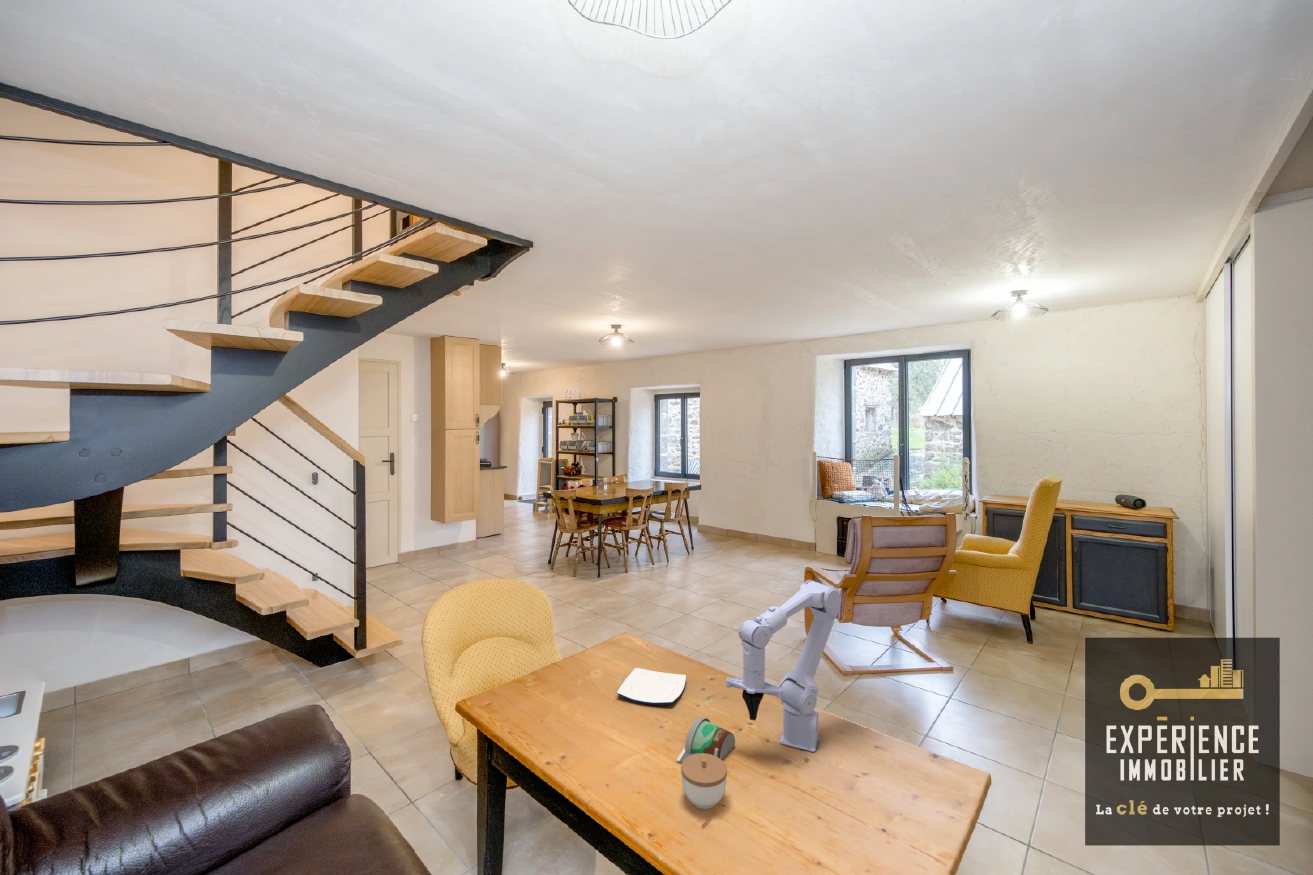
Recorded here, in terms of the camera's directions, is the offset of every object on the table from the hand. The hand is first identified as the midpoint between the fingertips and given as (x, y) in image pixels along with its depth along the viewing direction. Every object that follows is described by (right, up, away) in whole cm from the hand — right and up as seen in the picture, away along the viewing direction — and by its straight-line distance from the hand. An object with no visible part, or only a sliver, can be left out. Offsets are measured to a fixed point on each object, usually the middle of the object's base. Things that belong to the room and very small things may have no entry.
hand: (753, 718), depth 137 cm
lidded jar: (-15, -11, -16) cm, 24 cm away
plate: (-27, -10, +35) cm, 45 cm away
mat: (-13, -10, +3) cm, 17 cm away
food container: (-6, -7, +1) cm, 10 cm away
